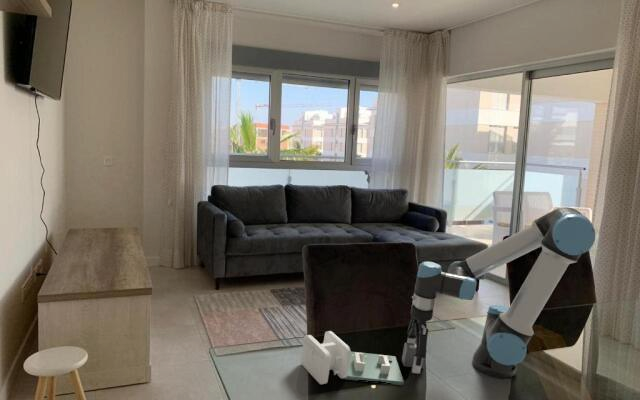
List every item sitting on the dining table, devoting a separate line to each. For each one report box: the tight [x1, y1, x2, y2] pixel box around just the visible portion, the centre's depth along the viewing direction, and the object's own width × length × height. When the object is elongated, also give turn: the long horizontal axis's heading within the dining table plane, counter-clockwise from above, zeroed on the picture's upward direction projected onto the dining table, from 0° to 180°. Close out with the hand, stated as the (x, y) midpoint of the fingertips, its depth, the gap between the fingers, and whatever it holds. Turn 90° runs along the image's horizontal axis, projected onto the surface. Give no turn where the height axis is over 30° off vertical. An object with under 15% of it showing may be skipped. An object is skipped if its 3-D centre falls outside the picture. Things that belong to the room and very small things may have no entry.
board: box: [341, 351, 405, 386], centre depth 167 cm, size 20×16×4 cm
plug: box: [401, 342, 428, 369], centre depth 173 cm, size 7×4×8 cm, turn 92°
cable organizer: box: [300, 330, 352, 385], centre depth 160 cm, size 15×11×12 cm
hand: (412, 363), depth 174 cm, fingers open, 11 cm apart
